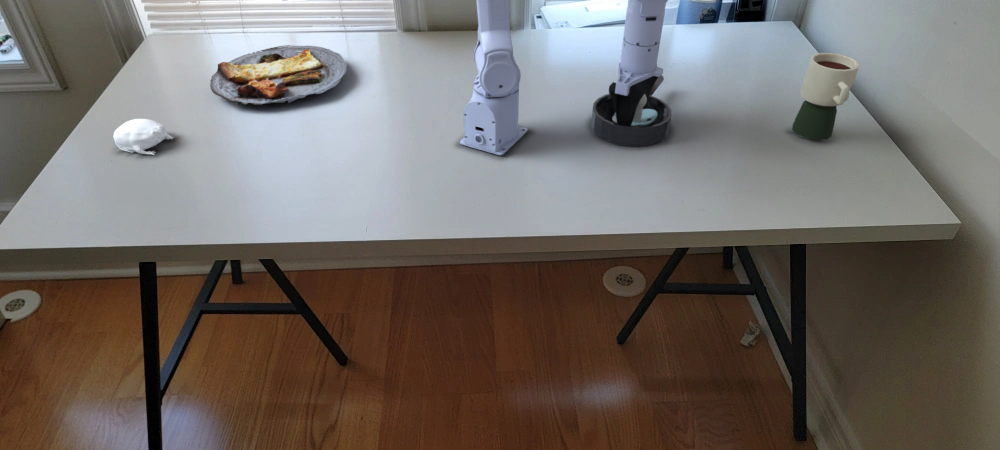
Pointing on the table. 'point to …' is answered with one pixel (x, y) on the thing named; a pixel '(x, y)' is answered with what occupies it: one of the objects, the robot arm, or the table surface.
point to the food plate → (278, 74)
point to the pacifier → (641, 114)
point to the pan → (628, 134)
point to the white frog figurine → (140, 135)
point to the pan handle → (657, 84)
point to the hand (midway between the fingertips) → (630, 117)
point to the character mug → (824, 94)
